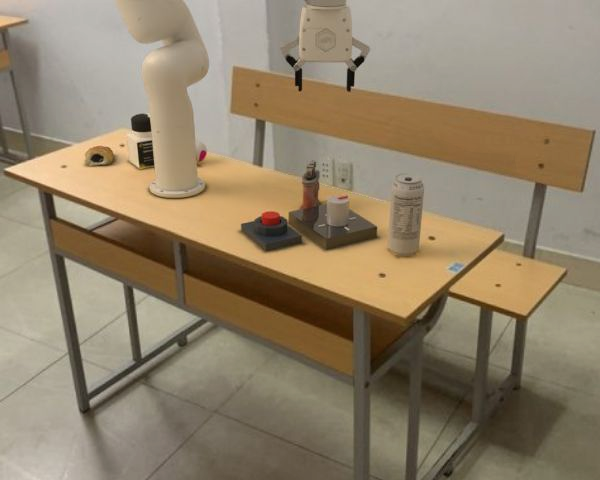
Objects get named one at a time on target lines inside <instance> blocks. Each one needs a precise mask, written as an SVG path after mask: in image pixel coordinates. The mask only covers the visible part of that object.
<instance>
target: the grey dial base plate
mask: <svg viewBox="0 0 600 480" xmlns="http://www.w3.org/2000/svg"><path fill="white" fill-rule="evenodd" d="M326 219H327V203H324V204H319V206H315V207H310V208H305V209H302V208H301V209H297V210H291V211H288V224H290V225H291V226H293V227H294V228H295V229H297V230H298V231H299V232H300V233H302V234H303V235H305V236H306V237H307V238H309V240H312V241H313V242H314V243H316V244H317V245H318V246H319V247H321V248H322V249H324V250H325V251H326V250H331V249H335V248H340V247H344V246H346V245H352V244H357V243H360V242H364V241H367V240H372V239H377V237H378V226H377V225H376V224H374V223H373V222H371V221H369V220H368V219H367V218H365V217H363V216H362V215H360V214H358V213H357V212H355V211H354V210H352V209H350V208H349V216H348V224H347V225H345V226H341V227H335V226H330V225H328V224H327V222H326Z"/></svg>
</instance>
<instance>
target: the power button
mask: <svg viewBox="0 0 600 480" xmlns="http://www.w3.org/2000/svg"><path fill="white" fill-rule="evenodd" d="M261 216H262V224H263V225H267V226H274V225H278V224H280V216H281V214H280V213H279V212H278V211H270V210H269V211H265V212H262V213H261Z"/></svg>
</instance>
